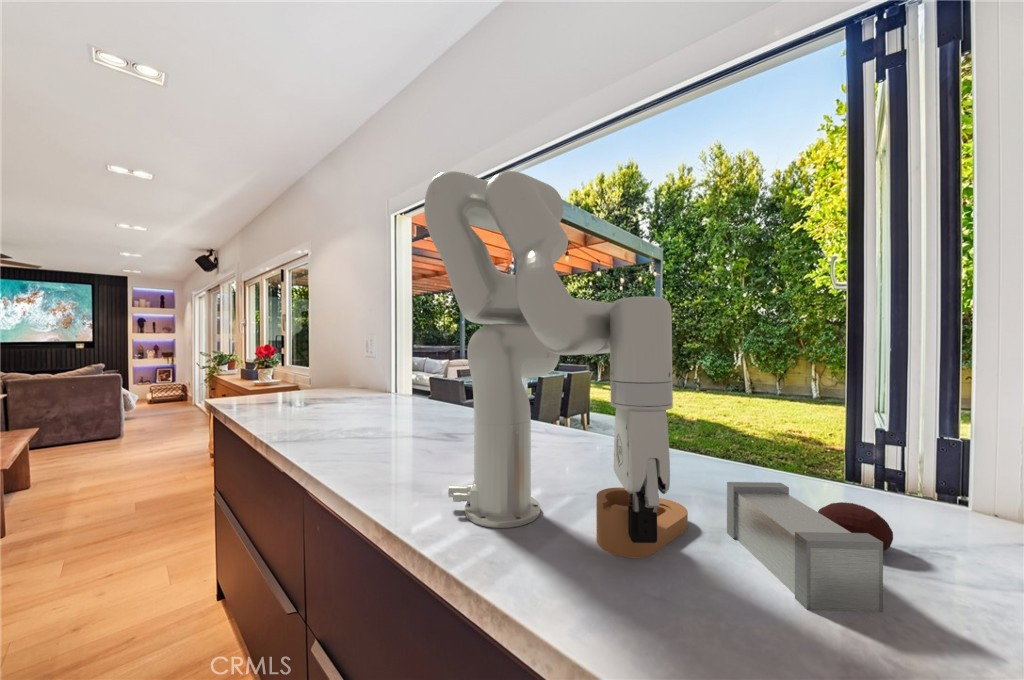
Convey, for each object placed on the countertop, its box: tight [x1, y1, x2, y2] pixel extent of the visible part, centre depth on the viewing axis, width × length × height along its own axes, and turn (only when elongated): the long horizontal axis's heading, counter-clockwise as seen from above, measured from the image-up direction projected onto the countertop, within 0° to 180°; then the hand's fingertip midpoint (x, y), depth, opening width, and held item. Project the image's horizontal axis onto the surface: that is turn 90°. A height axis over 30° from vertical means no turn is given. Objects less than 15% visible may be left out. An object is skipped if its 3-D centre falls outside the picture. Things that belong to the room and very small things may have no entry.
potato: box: [817, 502, 894, 552], centre depth 58 cm, size 7×8×6 cm
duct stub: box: [726, 481, 884, 613], centre depth 53 cm, size 8×18×8 cm, turn 177°
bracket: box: [596, 487, 689, 559], centre depth 62 cm, size 18×8×7 cm, turn 134°
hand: (642, 539), depth 53 cm, fingers closed
